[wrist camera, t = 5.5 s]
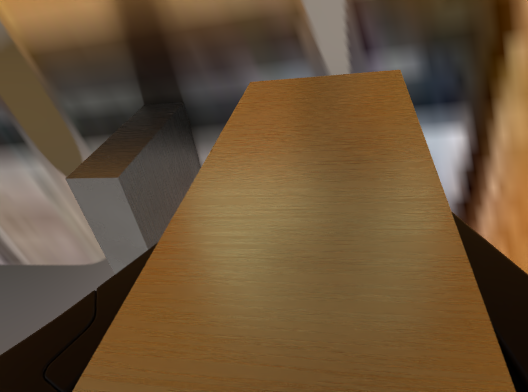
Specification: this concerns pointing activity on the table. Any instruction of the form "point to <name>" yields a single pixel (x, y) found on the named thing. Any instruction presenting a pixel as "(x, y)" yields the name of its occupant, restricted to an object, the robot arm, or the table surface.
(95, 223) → the bar
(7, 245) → the table surface
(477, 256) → the robot arm
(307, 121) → the square bit
